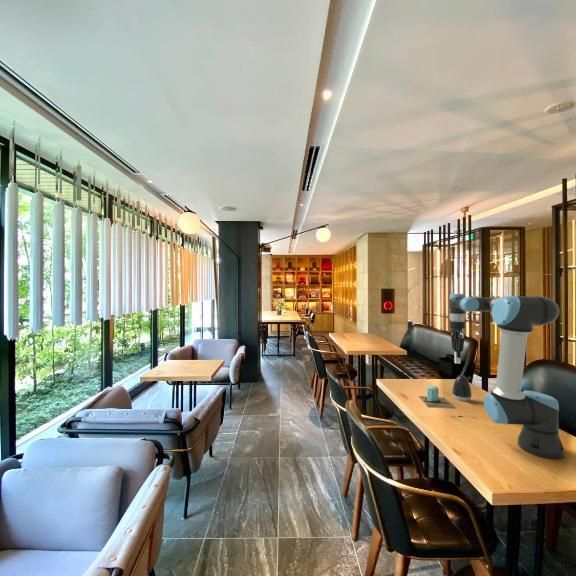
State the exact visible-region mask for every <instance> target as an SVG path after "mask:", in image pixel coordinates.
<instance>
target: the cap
mask: <svg viewBox="0 0 576 576" xmlns="http://www.w3.org/2000/svg"><path fill="white" fill-rule="evenodd" d="M439 393H440V389H439V387H438V386H435V385H427V386H426V397H427V399H428V400H431V401H438V400H439V396H440V394H439Z"/></svg>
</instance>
